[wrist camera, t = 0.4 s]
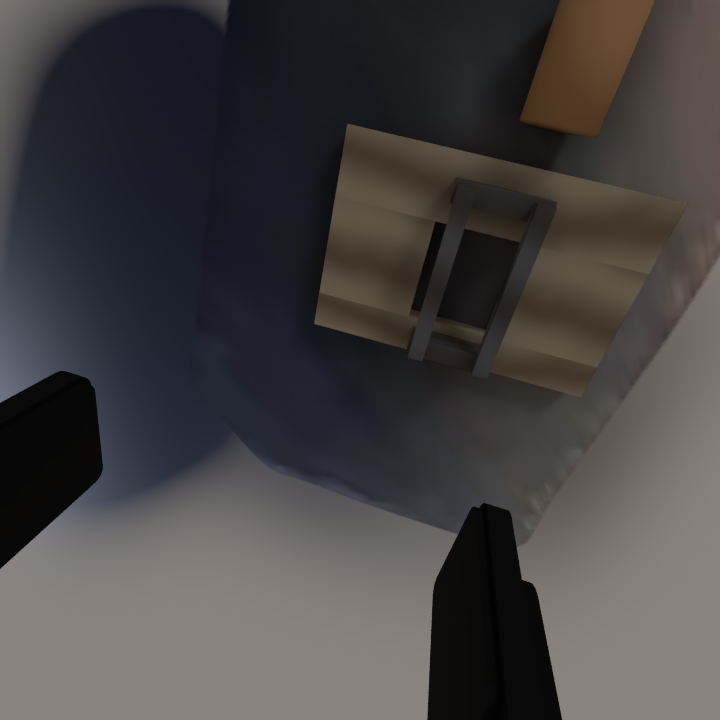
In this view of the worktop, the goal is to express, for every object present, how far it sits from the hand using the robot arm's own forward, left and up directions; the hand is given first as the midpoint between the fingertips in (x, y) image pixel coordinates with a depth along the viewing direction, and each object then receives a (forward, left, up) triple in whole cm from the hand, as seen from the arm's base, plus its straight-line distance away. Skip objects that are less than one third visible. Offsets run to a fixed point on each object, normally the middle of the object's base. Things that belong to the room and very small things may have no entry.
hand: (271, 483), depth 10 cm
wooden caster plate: (0, +6, -28) cm, 29 cm away
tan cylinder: (-14, +8, -28) cm, 33 cm away
